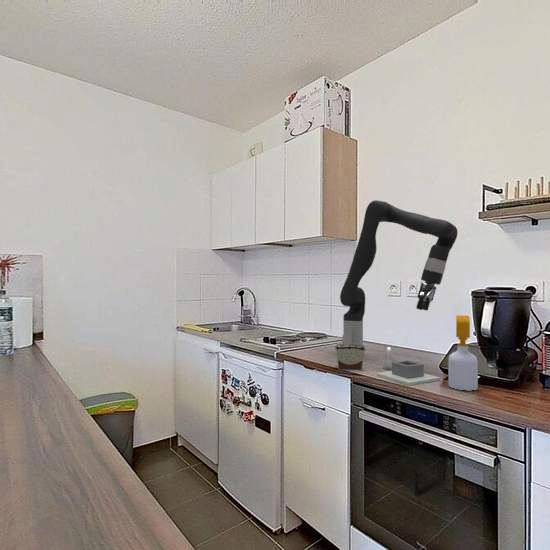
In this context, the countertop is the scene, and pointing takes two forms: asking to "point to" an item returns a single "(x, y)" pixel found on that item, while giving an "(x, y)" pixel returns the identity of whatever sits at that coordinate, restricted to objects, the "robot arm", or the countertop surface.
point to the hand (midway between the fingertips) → (421, 309)
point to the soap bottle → (463, 360)
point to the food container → (350, 356)
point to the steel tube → (388, 357)
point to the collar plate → (408, 373)
